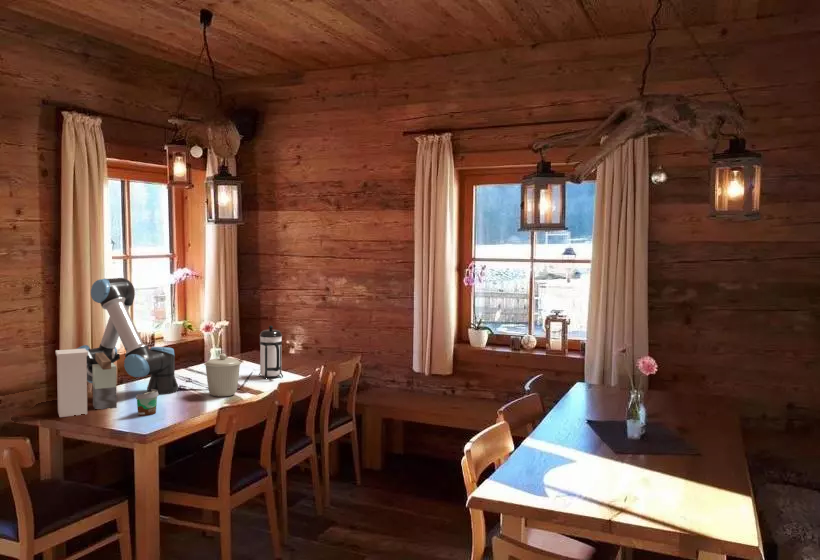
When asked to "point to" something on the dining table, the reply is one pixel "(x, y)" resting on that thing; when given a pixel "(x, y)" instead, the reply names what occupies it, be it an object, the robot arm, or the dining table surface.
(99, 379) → the tower top block
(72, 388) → the tall stand
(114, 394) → the tower base block
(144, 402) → the food container
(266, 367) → the coffee press
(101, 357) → the walnut bar
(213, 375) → the canister
